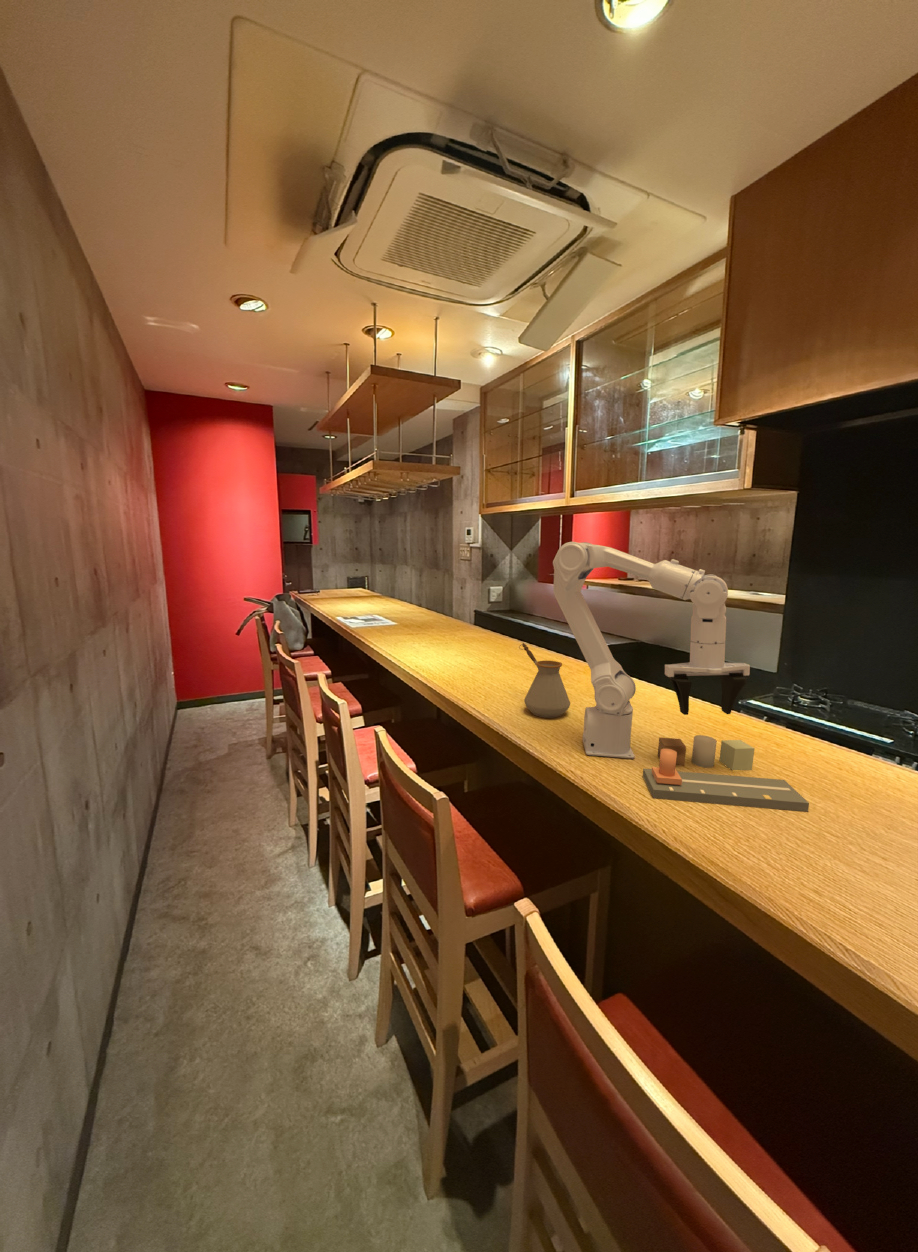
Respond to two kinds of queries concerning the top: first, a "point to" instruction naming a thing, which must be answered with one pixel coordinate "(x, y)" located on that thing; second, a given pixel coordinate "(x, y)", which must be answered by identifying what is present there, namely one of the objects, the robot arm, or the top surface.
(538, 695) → the coffee pot
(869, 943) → the top surface
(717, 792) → the slate board
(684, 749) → the walnut block
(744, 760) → the sage block
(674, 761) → the counter slider
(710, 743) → the grey cylinder
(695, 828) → the top surface
